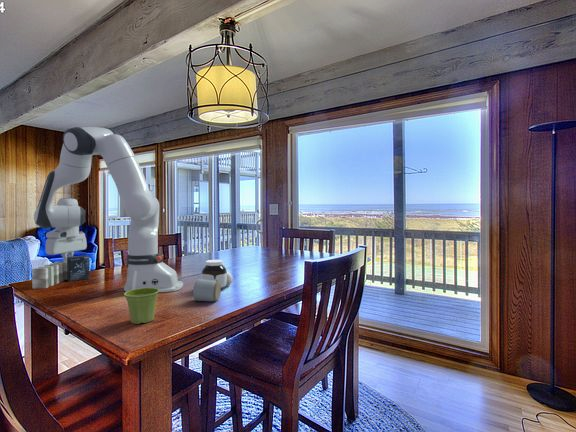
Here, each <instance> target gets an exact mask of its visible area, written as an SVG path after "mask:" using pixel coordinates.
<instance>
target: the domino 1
mask: <svg viewBox="0 0 576 432" xmlns="http://www.w3.org/2000/svg"><path fill="white" fill-rule="evenodd" d="M31 275H32V276H31V282H32V285H31V286H32V289H36V290H37V289H47V288H49V286H48V268H38V267H35V268H34V267H33V268H31Z"/></svg>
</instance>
